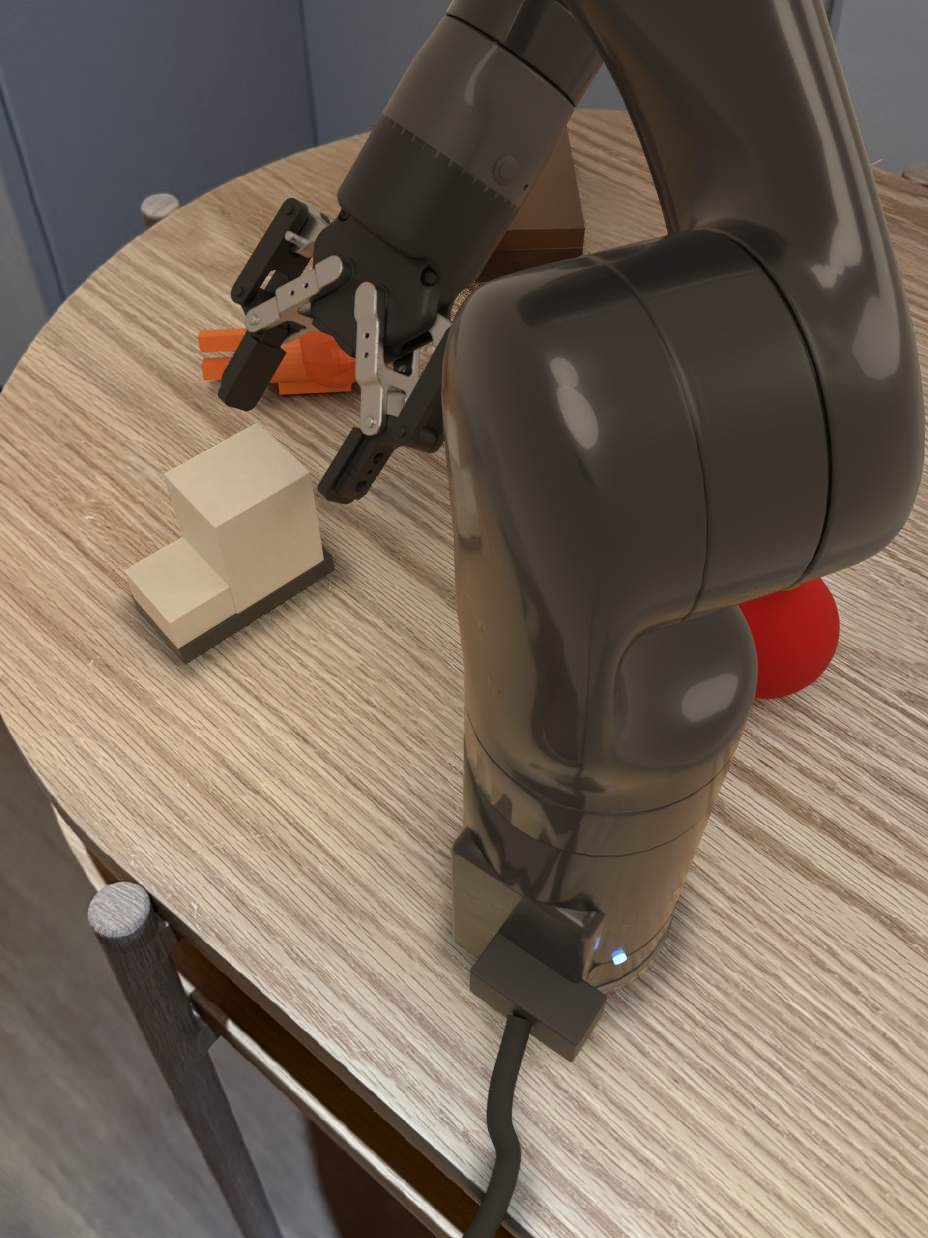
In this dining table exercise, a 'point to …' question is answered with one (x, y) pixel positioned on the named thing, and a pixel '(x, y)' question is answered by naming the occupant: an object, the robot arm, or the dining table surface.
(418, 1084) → the dining table surface
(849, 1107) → the dining table surface
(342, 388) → the orange toy figure
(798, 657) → the christmas ornament
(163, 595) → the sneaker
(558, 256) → the brown lidded case
